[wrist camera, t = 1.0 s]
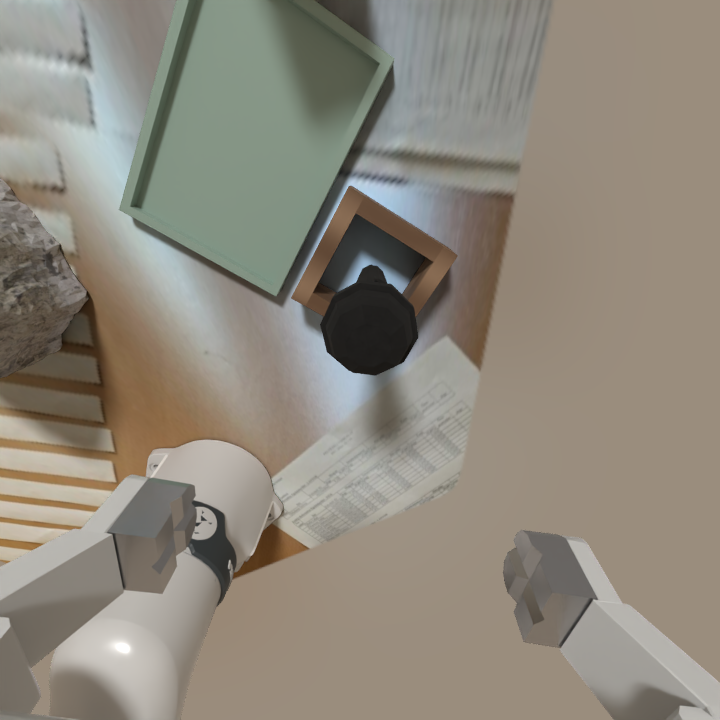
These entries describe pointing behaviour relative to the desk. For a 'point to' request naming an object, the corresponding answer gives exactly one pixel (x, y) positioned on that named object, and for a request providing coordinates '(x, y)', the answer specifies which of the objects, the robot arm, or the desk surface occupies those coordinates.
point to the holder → (372, 211)
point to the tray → (250, 129)
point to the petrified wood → (31, 287)
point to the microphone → (369, 325)
